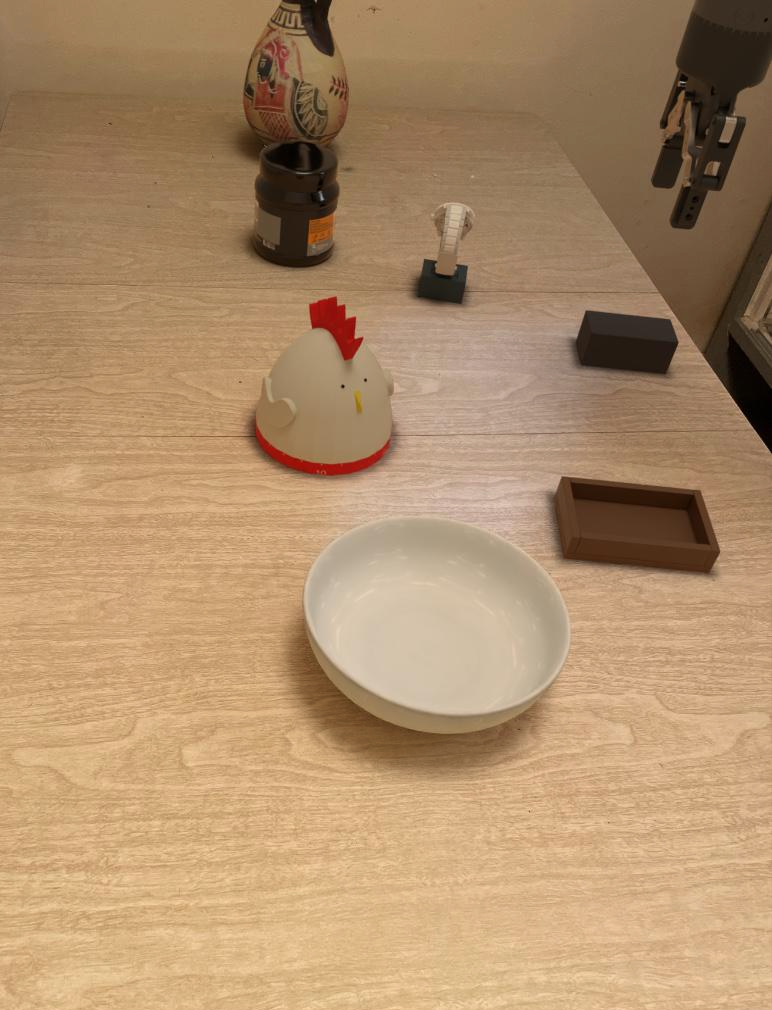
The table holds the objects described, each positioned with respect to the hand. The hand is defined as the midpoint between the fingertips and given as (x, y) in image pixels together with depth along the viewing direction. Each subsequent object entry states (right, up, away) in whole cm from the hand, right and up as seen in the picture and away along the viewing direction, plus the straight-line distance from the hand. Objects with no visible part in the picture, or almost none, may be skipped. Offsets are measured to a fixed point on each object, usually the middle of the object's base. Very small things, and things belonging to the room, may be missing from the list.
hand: (670, 206), depth 90 cm
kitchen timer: (-33, -20, +9) cm, 39 cm away
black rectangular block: (+2, -9, +23) cm, 25 cm away
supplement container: (-37, +8, +34) cm, 51 cm away
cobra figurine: (-18, +1, +30) cm, 35 cm away
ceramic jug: (-37, +30, +55) cm, 72 cm away
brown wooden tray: (-3, -31, +2) cm, 31 cm away
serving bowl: (-24, -42, -11) cm, 50 cm away
